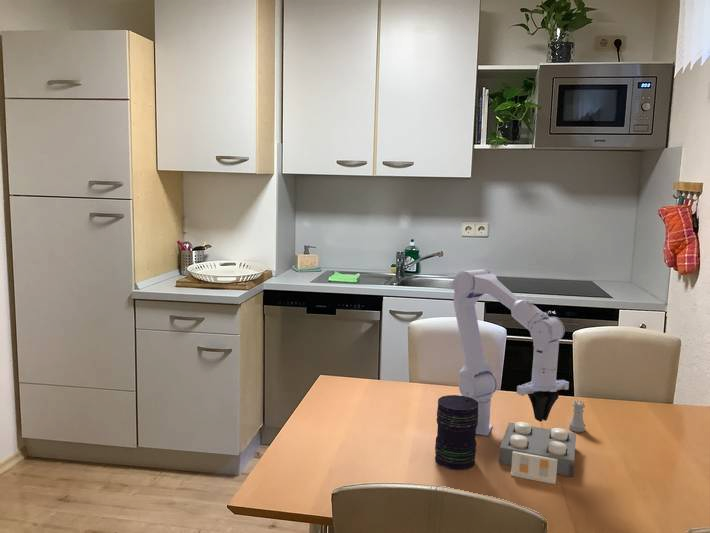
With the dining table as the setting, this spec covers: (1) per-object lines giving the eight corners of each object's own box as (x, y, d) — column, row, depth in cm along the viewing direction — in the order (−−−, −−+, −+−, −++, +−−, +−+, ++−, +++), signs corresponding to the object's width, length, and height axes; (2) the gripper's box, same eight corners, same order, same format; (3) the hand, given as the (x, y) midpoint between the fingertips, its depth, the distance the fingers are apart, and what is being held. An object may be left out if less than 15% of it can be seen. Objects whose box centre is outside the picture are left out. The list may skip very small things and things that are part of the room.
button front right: (547, 459, 146) (548, 446, 146) (548, 452, 150) (549, 440, 150) (564, 462, 145) (565, 449, 144) (565, 455, 149) (566, 443, 148)
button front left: (508, 452, 150) (509, 439, 149) (510, 445, 153) (511, 433, 153) (525, 455, 148) (526, 442, 148) (527, 448, 152) (528, 436, 151)
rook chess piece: (586, 433, 168) (588, 405, 167) (569, 431, 169) (571, 404, 168) (583, 427, 172) (586, 400, 171) (567, 425, 173) (569, 398, 172)
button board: (498, 462, 149) (499, 447, 148) (508, 436, 164) (509, 422, 164) (572, 476, 143) (574, 460, 142) (575, 448, 158) (576, 433, 158)
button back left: (513, 438, 158) (514, 426, 157) (515, 432, 162) (516, 420, 161) (529, 441, 156) (530, 429, 156) (531, 435, 160) (531, 423, 160)
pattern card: (510, 475, 142) (511, 454, 142) (512, 470, 145) (513, 449, 144) (555, 484, 139) (557, 462, 138) (556, 478, 142) (557, 457, 141)
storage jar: (450, 473, 142) (453, 412, 140) (426, 456, 151) (429, 398, 149) (484, 465, 147) (487, 406, 145) (459, 449, 156) (462, 392, 154)
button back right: (549, 444, 155) (550, 432, 154) (551, 438, 158) (551, 426, 158) (566, 447, 153) (567, 435, 153) (567, 441, 157) (568, 429, 156)
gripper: (531, 374, 144) (527, 429, 146) (579, 368, 150) (575, 421, 151) (512, 365, 150) (509, 418, 152) (559, 360, 156) (555, 411, 158)
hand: (540, 419), depth 152 cm, fingers closed
